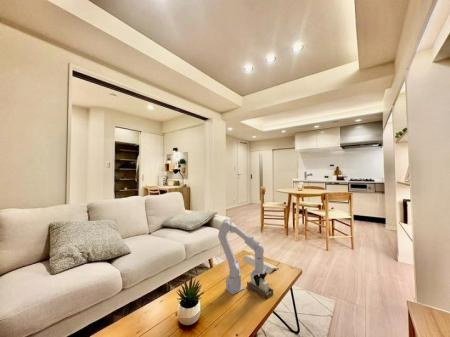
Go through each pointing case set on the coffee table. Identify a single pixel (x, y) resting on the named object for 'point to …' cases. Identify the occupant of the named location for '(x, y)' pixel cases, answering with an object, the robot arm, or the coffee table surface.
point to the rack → (260, 290)
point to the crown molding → (251, 261)
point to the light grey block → (261, 285)
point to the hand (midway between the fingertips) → (259, 284)
